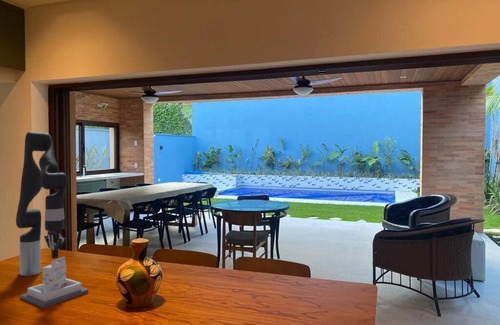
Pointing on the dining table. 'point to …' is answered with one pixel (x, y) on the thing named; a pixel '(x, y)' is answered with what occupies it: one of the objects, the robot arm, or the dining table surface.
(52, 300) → the cartridge holder
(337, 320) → the dining table surface
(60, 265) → the ink cartridge box
